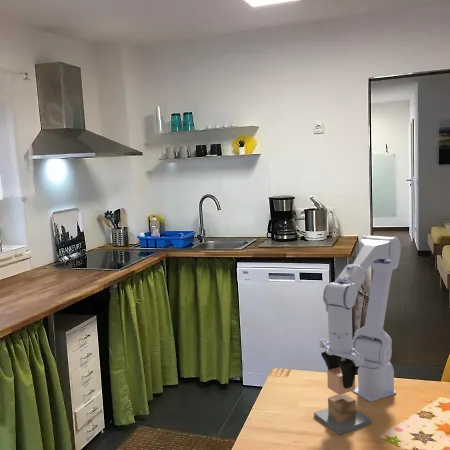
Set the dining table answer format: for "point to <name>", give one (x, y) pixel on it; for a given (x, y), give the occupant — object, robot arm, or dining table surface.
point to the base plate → (343, 426)
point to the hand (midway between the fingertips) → (341, 383)
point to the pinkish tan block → (337, 381)
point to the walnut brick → (341, 407)
